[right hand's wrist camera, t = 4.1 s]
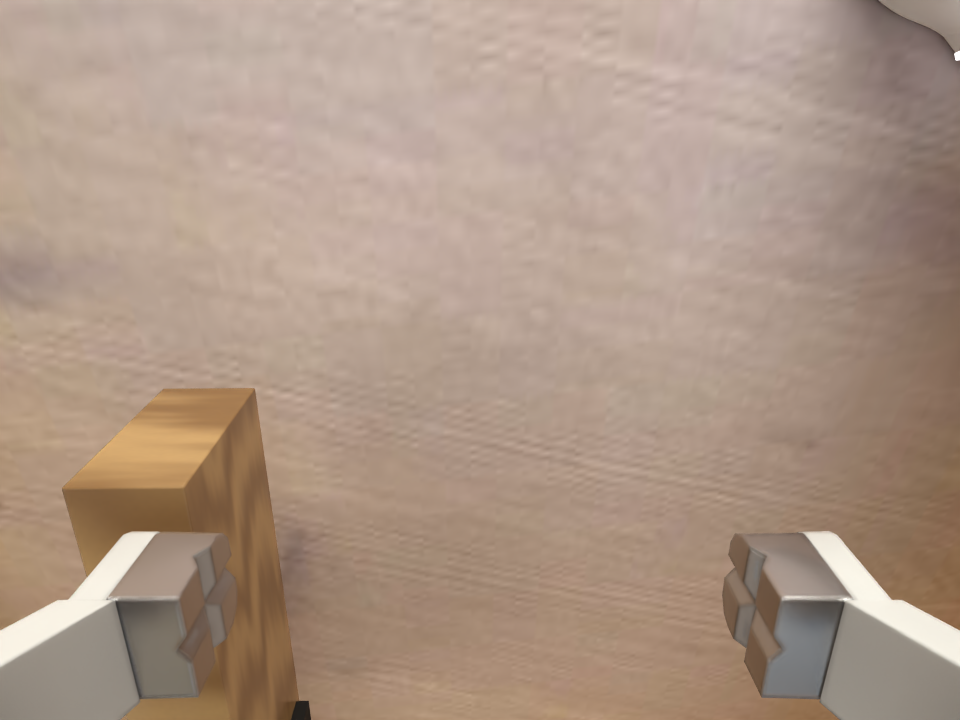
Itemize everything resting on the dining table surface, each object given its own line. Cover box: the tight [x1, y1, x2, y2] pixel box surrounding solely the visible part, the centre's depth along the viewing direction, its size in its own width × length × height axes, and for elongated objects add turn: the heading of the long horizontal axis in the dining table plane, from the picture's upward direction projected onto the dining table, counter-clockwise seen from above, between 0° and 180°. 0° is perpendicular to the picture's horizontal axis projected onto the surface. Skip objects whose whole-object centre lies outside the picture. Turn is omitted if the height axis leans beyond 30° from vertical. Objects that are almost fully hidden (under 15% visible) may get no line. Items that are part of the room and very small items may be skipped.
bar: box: [62, 388, 299, 720], centre depth 33 cm, size 26×4×9 cm, turn 0°
